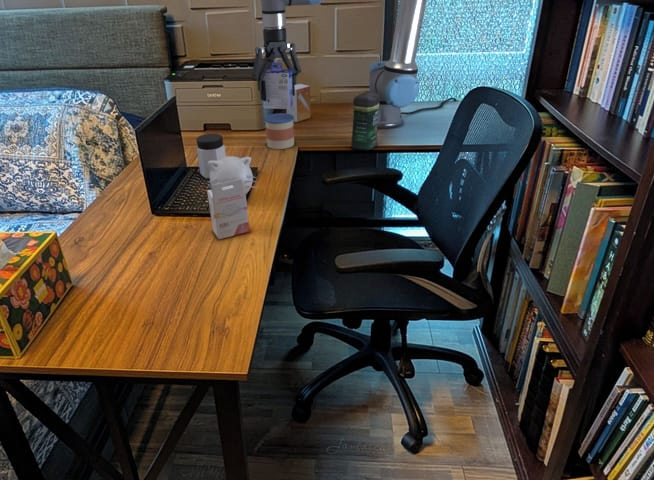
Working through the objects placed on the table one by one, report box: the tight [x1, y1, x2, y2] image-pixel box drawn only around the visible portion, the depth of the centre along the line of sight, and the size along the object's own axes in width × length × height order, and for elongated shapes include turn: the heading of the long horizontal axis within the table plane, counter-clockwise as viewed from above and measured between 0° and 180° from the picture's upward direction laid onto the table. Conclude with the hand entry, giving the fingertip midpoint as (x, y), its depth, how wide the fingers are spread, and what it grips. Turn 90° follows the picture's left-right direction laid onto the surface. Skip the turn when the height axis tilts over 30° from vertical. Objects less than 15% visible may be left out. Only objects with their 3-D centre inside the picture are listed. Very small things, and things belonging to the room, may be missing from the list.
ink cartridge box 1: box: [206, 179, 250, 240], centre depth 124 cm, size 9×5×15 cm, turn 114°
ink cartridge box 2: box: [262, 62, 293, 110], centre depth 171 cm, size 10×6×14 cm, turn 78°
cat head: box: [207, 155, 260, 195], centre depth 143 cm, size 15×13×12 cm
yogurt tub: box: [264, 112, 295, 150], centre depth 180 cm, size 10×10×10 cm
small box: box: [286, 83, 311, 123], centre depth 204 cm, size 8×6×13 cm
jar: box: [195, 133, 227, 180], centre depth 158 cm, size 9×8×12 cm
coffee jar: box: [351, 90, 380, 151], centre depth 171 cm, size 10×8×19 cm
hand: (278, 97), depth 173 cm, fingers closed on ink cartridge box 2, 10 cm apart
